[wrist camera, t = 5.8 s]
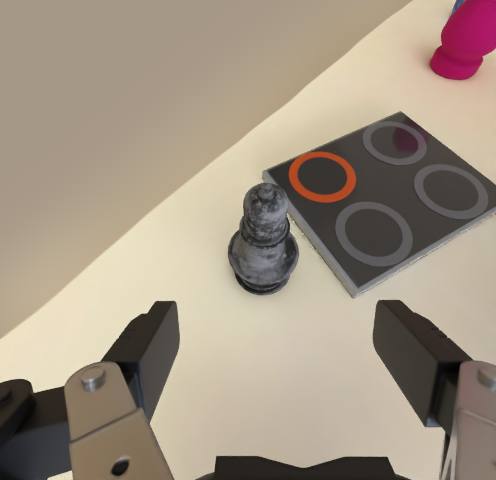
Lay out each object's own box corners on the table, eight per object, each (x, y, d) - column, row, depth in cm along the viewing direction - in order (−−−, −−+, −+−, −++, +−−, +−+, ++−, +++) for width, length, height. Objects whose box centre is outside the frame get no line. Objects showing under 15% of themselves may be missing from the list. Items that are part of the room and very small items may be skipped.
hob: (396, 119, 36) (402, 107, 35) (506, 207, 29) (519, 197, 28) (261, 178, 32) (262, 168, 30) (353, 299, 25) (359, 292, 23)
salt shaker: (218, 262, 27) (195, 176, 16) (266, 230, 28) (274, 132, 18) (256, 311, 24) (258, 247, 14) (306, 273, 26) (342, 190, 16)
